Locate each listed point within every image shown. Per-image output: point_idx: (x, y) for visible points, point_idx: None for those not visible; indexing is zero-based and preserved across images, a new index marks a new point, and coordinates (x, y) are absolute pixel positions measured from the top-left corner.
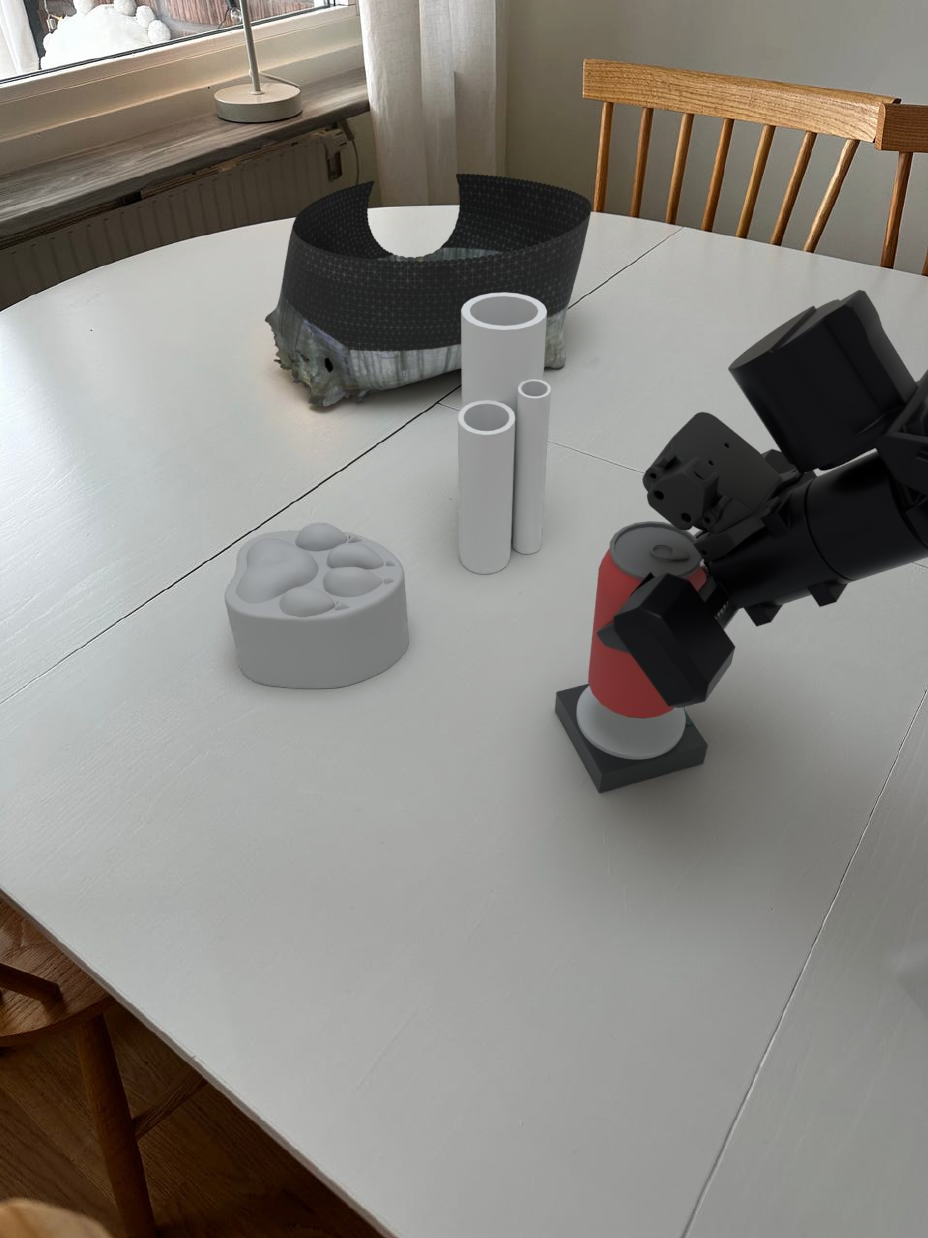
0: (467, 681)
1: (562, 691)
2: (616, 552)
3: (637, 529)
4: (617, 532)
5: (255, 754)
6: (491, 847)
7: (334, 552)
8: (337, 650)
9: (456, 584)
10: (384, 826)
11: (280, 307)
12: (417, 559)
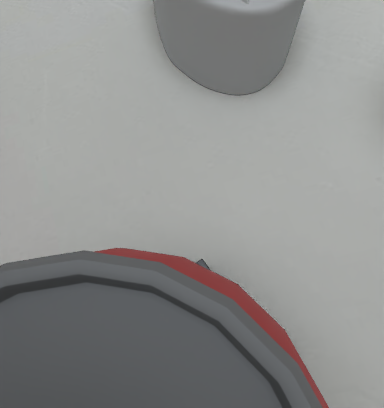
0: (215, 162)
1: (204, 266)
2: (28, 301)
3: (261, 385)
4: (160, 274)
5: (77, 28)
6: (4, 245)
7: None
8: (165, 17)
9: (358, 110)
10: (16, 146)
11: None
12: (378, 62)
